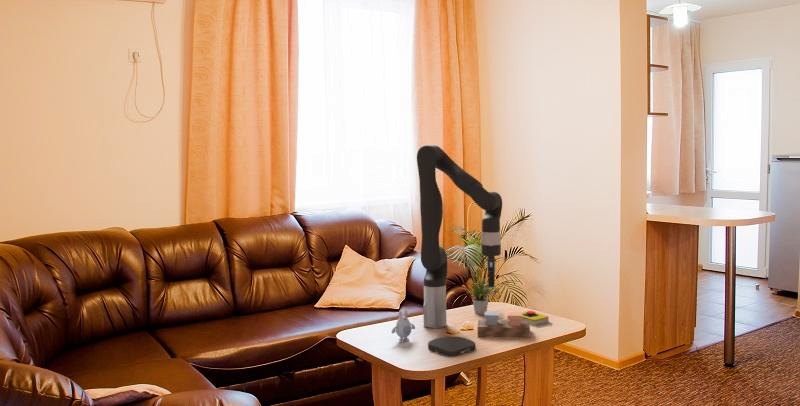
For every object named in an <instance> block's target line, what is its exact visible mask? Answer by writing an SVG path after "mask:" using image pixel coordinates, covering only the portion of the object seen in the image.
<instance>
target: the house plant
mask: <svg viewBox="0 0 800 406" xmlns="http://www.w3.org/2000/svg"><path fill="white" fill-rule="evenodd" d="M479 279H480V278H479V277H478V276H477V283H475V282H474V281H473V280H472V279H469V280H470V282H471V283H469V286H471V288H472V289H473V290H471V291H470V290H469V291H467V293H471V294H473V295H474V297H473V298H472V304H473V311H474V314H475V315H485V311H488V304H489V298H487V297H485V296H486V295H490V294H493V291H491V289H492V288H493V287H489V282H488V283H487V284H486V285H485V277H484V276H483V277H482V280H481V281H480V280H479ZM495 283H496V280H495V279H494V284H495ZM488 287H489V289H488Z"/></svg>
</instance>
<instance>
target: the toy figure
mask: <svg viewBox="0 0 800 406" xmlns="http://www.w3.org/2000/svg"><path fill="white" fill-rule="evenodd" d="M398 315H399V317H398V319H397V321H396V324H395V326H394V327H393V328H392V329H391V334H392V335H393V334H394V333H396V335H397V336H398V337H399V339H398V341H399V343H403V342H408V341H410V338H408V337H409V336H411V333H412V330H415V329H416V326H415V324H413V323H411V322H410V319H409V317H408V316H407V315H408V310H406V309H405V310H404V311H403V312H402V311H401V310H400V311H399V312H398Z"/></svg>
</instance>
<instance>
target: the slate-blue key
mask: <svg viewBox="0 0 800 406" xmlns="http://www.w3.org/2000/svg"><path fill="white" fill-rule="evenodd" d="M484 320H486V325H498V322H497V320H500V311H489V310H487V311H485V314H484Z"/></svg>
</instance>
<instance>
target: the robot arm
mask: <svg viewBox="0 0 800 406" xmlns="http://www.w3.org/2000/svg"><path fill="white" fill-rule="evenodd" d="M416 163H417V164H416V165H417V172H418V179H419V197H420V202H419V203H420V205H419V206H420V207H419V208H420V209H419V210H420V225H421V230H420V231H421V248H420V263H421V265H422V267H424V269H425V270H426V271H425V275H424V277H423V306H422V307H423V311H422V312H423V327H424V328H430V329H439V328H440V329H441V328H444V326H445V325H446V326H447V285H446V284H447V278H448V255H447V251H446V249H444V247H442V246H440V239H439V238H440V231H441V227H442V223H443V217H444V216H443V215H444V210H443V209H444V204H443V197H442V194H441V190H440V188H439V185H438V182H437V178H436V177H437V175H436V172H437V171H436V169H437V170H439V171H441V172H442V173H444V174H445V175H446V176H447V177H449V179H450V180H451V182H452V183H453V184H454V185H455V186H456V187H457V188H458V189H459V190H460V191H461V192H463V193H464V194H466V195H467V196H469V197H470V198H471V200H473V202H474V203H475V204H476V205H477V206H478V207H479V208H480V209H482V210H483V211H484V212H485V213H484V216H483V218H482V221H481V236H480V237H481V238H480V239H481V255H482V256H484V257H487V258H486V259H485V264H486V272H487V278H488V283H489V288H495V283H494V282H495V281H494V280H495V277H496V275H495V273H496V272H497V271H496V270H497V269H496V268H497V259H496V257H497V256H501V254H502V246H501V244H502V242H501V240H502V238H501V222H500V221H501V216H502V211H503V199H502V196H501V195H500V194H499V193H498V192H496V191H491V192H489V191H488V190H487V189H486V188H484V186H483V184H482V182H480V181H479V180H478V179H477V178H475V177H474V176H472V175H471V174H470V173H468V172H467V171H466V170H465V169H463V168H462V167H461V166H459V165H458V164H457V163H456V162H455V161H454V160H453V159H452V158H451V157H450V156H449V155H448V154H447V153H446V152H445V151H444V150H443V149H442V147H440V146H438V145H434V144H424V145H422V146H420V147H419V148H418V151H417V153H416ZM446 326H445V327H446Z"/></svg>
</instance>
